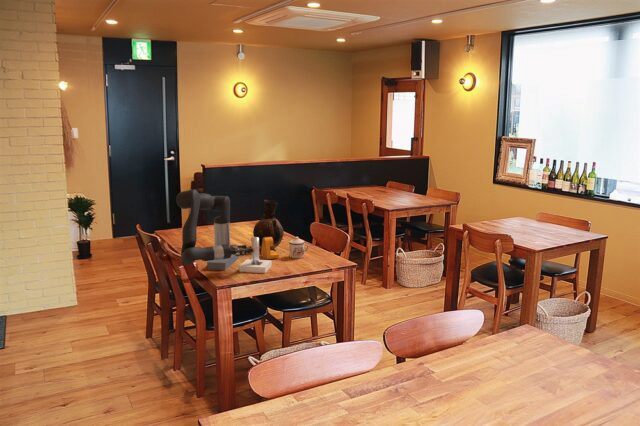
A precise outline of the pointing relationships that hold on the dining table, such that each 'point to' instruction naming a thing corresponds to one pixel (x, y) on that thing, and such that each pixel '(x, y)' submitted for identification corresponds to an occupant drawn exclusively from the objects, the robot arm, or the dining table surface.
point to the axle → (255, 250)
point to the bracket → (268, 249)
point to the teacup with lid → (297, 248)
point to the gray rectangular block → (222, 263)
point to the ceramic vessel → (269, 225)
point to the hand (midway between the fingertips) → (249, 248)
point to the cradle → (255, 266)
